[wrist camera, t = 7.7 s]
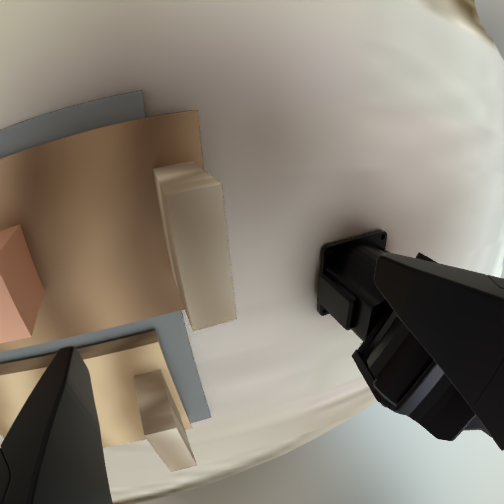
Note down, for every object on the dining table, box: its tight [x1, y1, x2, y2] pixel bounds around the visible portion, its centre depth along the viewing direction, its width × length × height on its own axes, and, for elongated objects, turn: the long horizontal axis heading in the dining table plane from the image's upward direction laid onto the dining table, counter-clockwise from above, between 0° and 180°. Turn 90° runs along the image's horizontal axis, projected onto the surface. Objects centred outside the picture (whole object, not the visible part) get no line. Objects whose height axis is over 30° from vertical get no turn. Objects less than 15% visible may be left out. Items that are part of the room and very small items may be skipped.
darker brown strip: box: [0, 110, 237, 352], centre depth 12 cm, size 18×11×6 cm, turn 94°
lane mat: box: [0, 90, 211, 423], centre depth 17 cm, size 20×27×1 cm
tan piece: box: [0, 330, 197, 472], centre depth 17 cm, size 18×11×6 cm, turn 94°
